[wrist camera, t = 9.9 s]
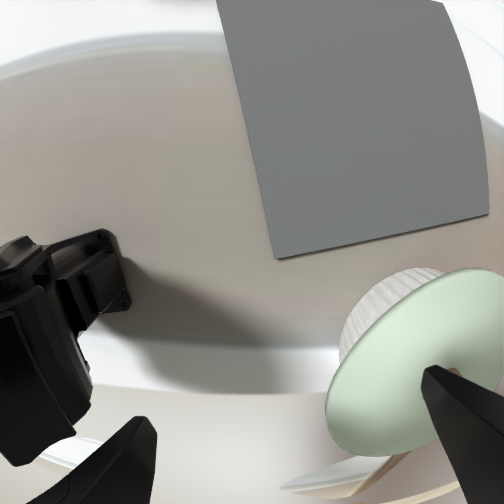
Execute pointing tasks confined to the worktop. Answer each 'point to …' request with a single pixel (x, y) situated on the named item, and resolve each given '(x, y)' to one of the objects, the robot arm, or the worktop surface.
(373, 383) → the lid
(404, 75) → the mat
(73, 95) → the worktop surface
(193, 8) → the worktop surface
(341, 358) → the ramekin
